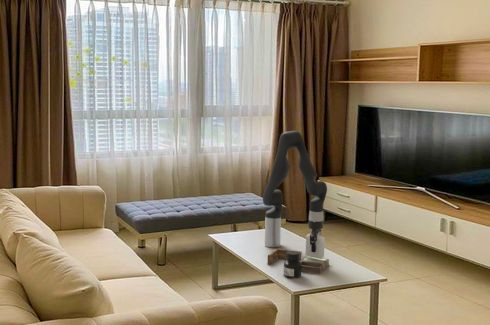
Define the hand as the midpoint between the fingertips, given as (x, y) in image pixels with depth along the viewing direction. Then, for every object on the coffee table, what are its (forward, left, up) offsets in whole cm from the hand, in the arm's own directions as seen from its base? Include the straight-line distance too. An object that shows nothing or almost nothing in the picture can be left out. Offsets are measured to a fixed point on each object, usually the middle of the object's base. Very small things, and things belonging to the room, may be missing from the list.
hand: (314, 250), depth 314 cm
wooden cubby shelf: (+2, -16, -8) cm, 18 cm away
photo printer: (0, 0, -4) cm, 4 cm away
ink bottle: (+21, -5, -8) cm, 23 cm away
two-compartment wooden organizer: (+4, 0, -8) cm, 9 cm away
